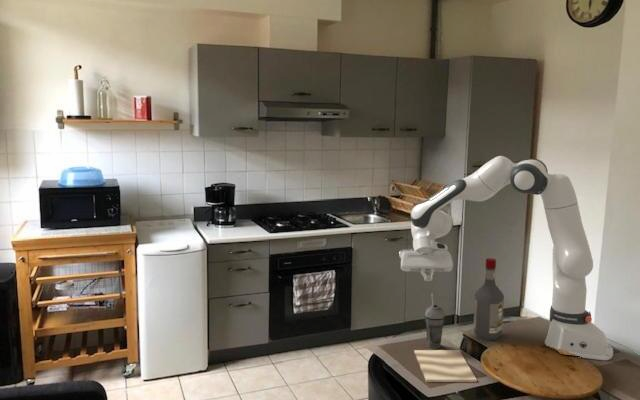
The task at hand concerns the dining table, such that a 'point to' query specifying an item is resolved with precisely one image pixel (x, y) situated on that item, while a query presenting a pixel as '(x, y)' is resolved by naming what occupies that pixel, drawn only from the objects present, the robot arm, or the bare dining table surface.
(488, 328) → the liquor
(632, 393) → the dining table surface
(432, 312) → the beverage cup
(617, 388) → the dining table surface
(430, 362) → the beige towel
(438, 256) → the robot arm
